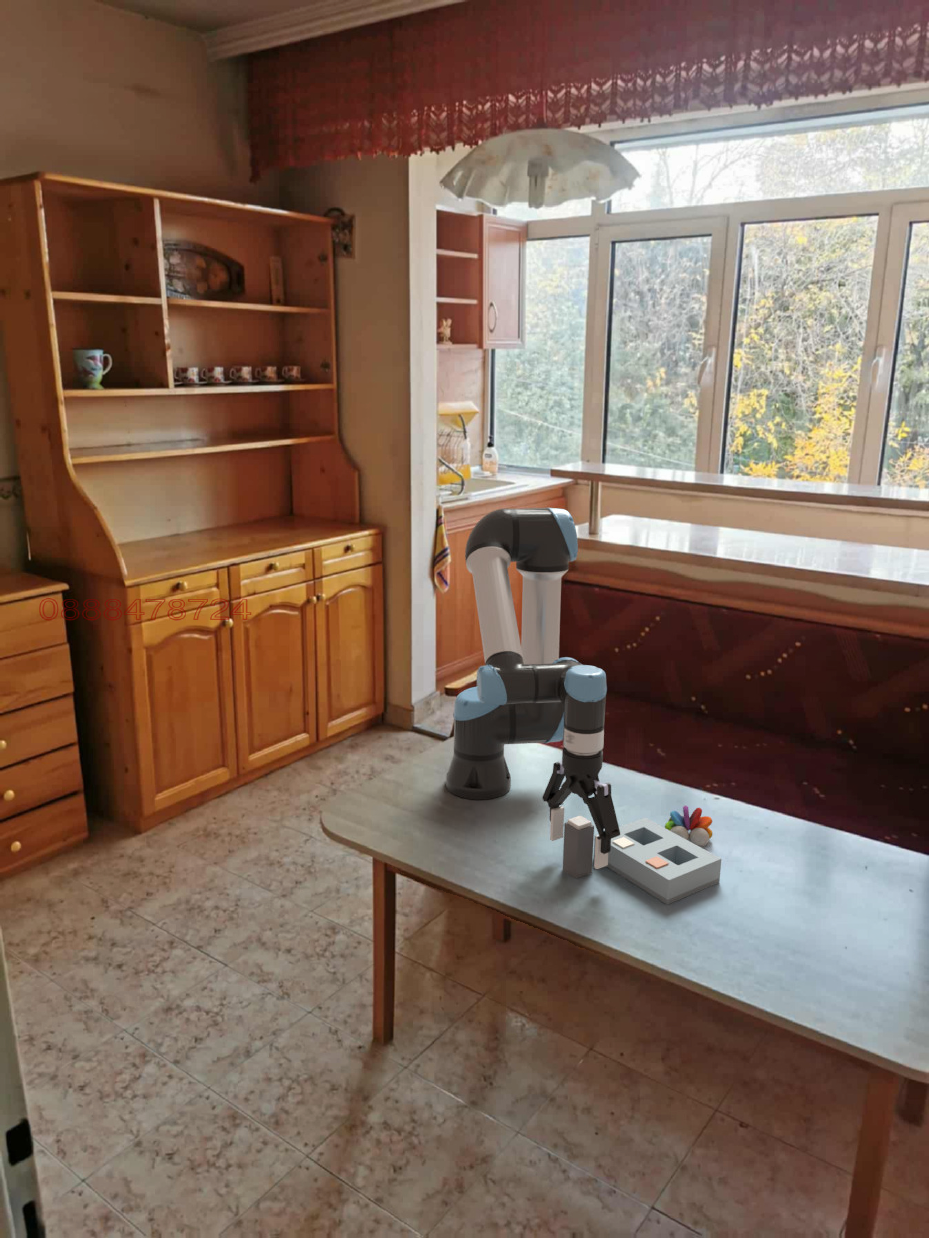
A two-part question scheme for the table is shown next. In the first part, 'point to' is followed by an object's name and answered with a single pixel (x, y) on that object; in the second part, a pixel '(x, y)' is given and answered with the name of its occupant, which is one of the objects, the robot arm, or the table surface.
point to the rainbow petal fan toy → (690, 826)
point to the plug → (578, 847)
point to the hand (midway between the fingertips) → (578, 852)
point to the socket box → (661, 861)
